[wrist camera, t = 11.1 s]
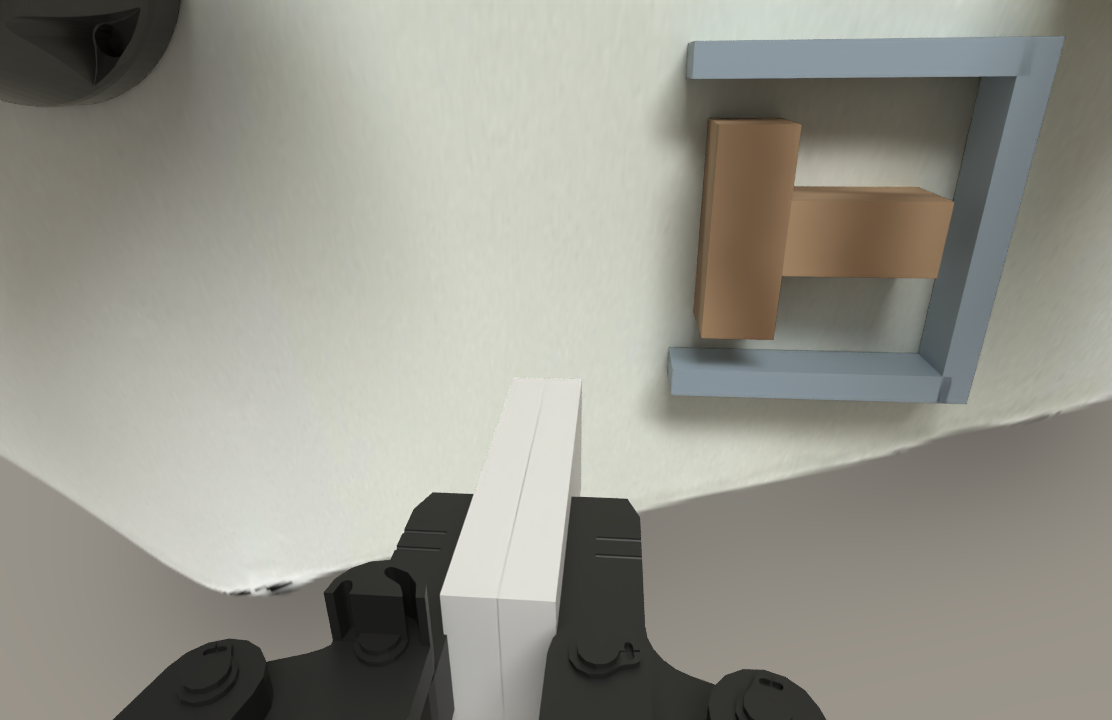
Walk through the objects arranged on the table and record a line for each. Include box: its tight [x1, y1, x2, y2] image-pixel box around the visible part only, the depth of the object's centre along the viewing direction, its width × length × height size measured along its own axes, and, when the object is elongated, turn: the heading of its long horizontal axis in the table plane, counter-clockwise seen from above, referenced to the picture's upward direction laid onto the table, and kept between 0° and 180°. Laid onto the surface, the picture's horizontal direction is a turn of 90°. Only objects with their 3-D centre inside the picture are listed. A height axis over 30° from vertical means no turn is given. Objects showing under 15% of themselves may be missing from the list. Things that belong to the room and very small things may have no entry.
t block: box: [693, 118, 954, 340], centre depth 32 cm, size 10×10×4 cm
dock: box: [667, 36, 1065, 404], centre depth 33 cm, size 15×17×3 cm
